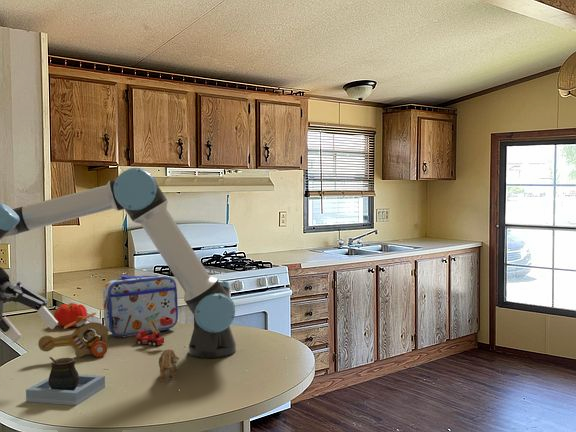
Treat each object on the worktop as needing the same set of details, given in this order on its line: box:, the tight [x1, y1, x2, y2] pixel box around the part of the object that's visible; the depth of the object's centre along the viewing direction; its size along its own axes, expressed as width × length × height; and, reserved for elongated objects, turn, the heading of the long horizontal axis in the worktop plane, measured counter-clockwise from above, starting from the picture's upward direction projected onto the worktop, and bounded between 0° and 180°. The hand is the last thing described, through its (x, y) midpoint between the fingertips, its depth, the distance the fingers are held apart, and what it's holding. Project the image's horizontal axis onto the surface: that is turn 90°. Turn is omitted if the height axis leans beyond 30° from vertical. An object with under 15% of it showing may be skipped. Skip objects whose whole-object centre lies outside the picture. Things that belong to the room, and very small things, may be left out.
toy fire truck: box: [135, 317, 173, 347], centre depth 190 cm, size 3×14×10 cm, turn 68°
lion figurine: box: [158, 348, 180, 382], centre depth 156 cm, size 15×5×9 cm, turn 15°
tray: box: [25, 373, 106, 406], centre depth 143 cm, size 14×13×3 cm
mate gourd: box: [48, 356, 79, 391], centre depth 142 cm, size 7×8×10 cm
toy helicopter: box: [37, 312, 109, 359], centre depth 175 cm, size 8×21×14 cm, turn 121°
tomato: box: [53, 302, 88, 328], centre depth 219 cm, size 13×12×8 cm
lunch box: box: [102, 274, 179, 338], centre depth 206 cm, size 28×10×22 cm, turn 122°
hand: (37, 332), depth 147 cm, fingers open, 13 cm apart
